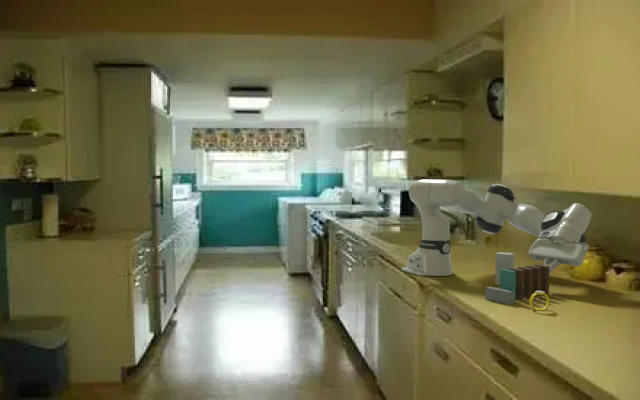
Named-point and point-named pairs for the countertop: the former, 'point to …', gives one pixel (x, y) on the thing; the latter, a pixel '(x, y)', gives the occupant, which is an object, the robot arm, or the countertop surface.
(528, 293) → the domino
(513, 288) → the domino
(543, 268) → the domino
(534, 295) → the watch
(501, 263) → the skincare box
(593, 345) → the countertop surface
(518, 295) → the domino
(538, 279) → the domino
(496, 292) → the end block
